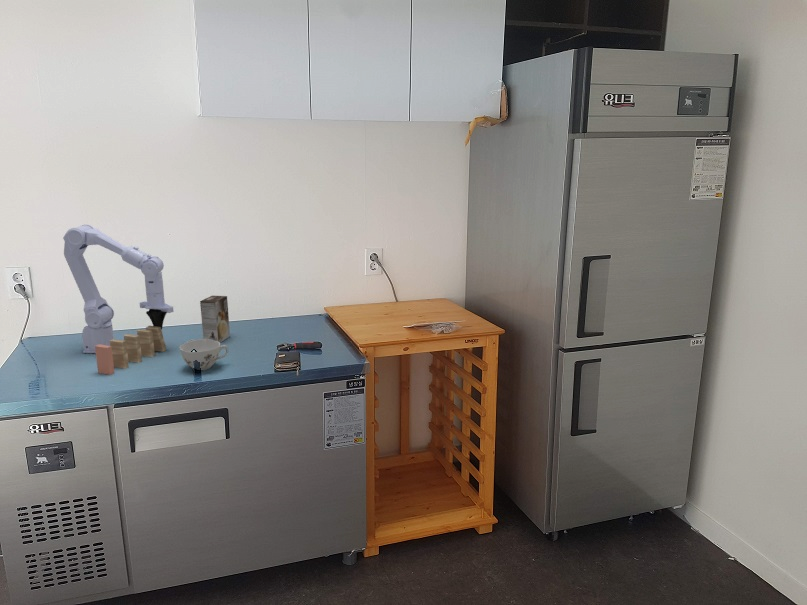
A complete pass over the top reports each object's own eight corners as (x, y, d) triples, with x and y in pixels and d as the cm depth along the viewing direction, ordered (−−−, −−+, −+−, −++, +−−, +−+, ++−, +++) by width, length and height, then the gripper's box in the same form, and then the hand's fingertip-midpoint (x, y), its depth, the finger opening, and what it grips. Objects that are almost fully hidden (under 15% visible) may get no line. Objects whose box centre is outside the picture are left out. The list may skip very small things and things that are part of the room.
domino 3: (151, 357, 213) (148, 332, 211) (139, 355, 215) (136, 330, 213) (154, 355, 215) (152, 330, 213) (143, 353, 217) (140, 329, 215)
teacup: (183, 376, 196) (181, 352, 194) (179, 364, 207) (177, 341, 205) (232, 370, 202) (230, 346, 200) (226, 358, 213) (224, 336, 211)
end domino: (110, 374, 197) (107, 347, 195) (98, 372, 199) (94, 346, 197) (114, 372, 199) (111, 346, 196) (102, 370, 200) (99, 344, 198)
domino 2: (138, 362, 208) (135, 337, 206) (126, 360, 210) (123, 335, 207) (142, 360, 210) (139, 335, 207) (130, 359, 211) (127, 333, 209)
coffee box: (215, 335, 238) (212, 294, 234) (230, 336, 236) (227, 295, 232) (202, 342, 229) (199, 300, 225) (218, 344, 228) (215, 301, 224)
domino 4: (163, 351, 219) (157, 329, 215) (151, 350, 221) (145, 327, 217) (166, 349, 220) (160, 327, 217) (155, 347, 222) (149, 325, 218)
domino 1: (124, 368, 203) (121, 342, 200) (112, 366, 204) (109, 340, 202) (128, 366, 204) (125, 340, 202) (116, 364, 206) (113, 339, 204)
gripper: (130, 292, 216) (134, 329, 219) (160, 297, 209) (164, 335, 213) (147, 288, 222) (151, 324, 225) (176, 292, 215) (180, 330, 219)
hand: (158, 329), depth 219 cm, fingers closed
